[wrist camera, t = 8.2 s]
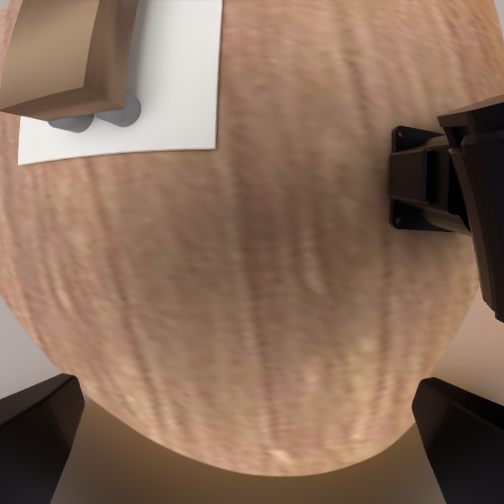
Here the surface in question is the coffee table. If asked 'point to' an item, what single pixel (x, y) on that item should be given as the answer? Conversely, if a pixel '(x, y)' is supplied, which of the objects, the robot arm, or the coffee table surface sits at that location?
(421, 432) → the robot arm
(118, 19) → the walnut board
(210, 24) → the peg stand
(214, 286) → the coffee table surface
